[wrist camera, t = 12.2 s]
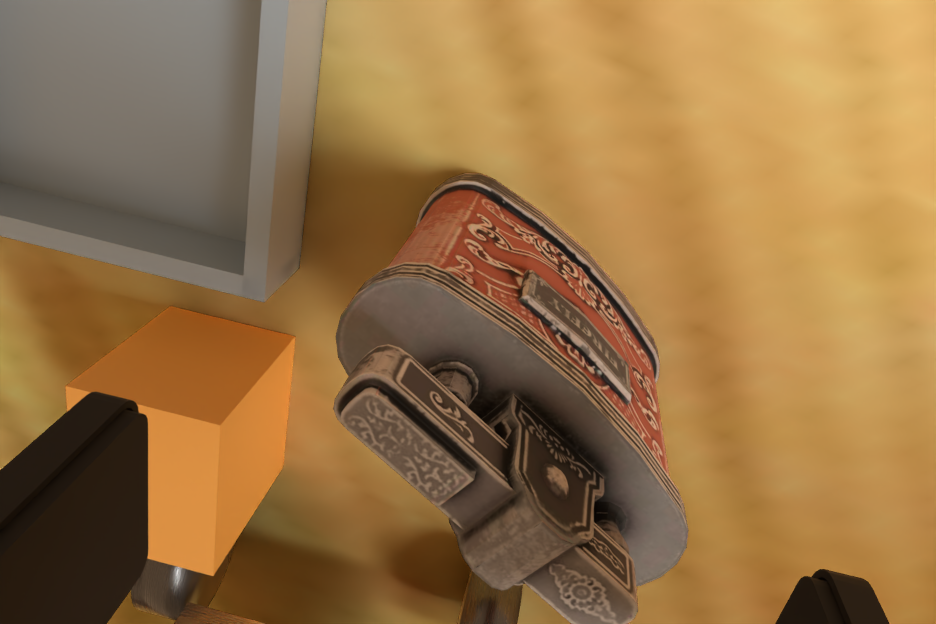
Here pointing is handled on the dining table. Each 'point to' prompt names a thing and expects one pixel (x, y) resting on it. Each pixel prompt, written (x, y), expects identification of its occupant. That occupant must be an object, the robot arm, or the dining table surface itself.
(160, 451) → the orange cube-like block
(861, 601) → the robot arm
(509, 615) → the trolley
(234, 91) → the tray
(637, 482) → the lighter
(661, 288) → the dining table surface
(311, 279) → the dining table surface
